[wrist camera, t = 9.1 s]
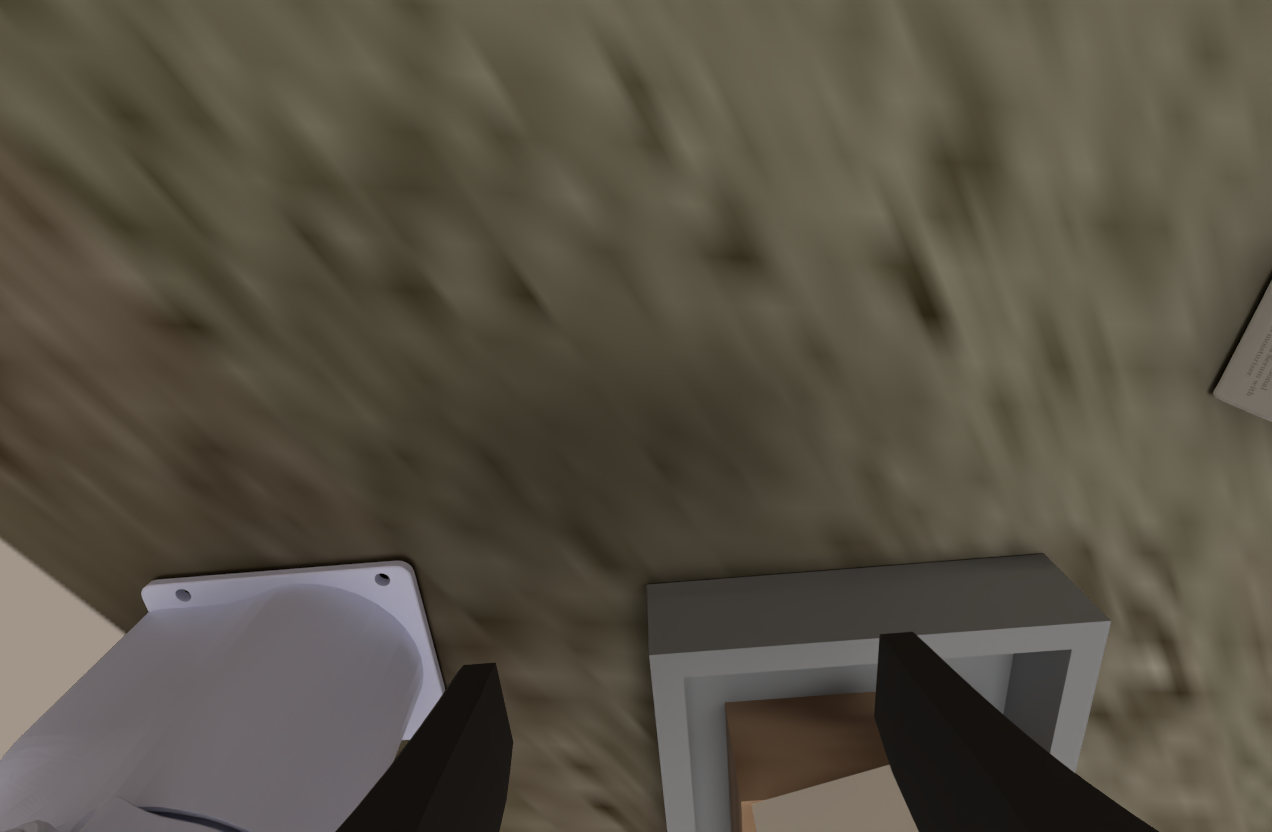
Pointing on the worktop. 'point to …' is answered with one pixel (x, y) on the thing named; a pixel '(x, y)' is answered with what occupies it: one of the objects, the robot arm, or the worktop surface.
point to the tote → (862, 654)
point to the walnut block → (796, 746)
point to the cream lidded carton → (839, 807)
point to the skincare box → (1251, 366)
